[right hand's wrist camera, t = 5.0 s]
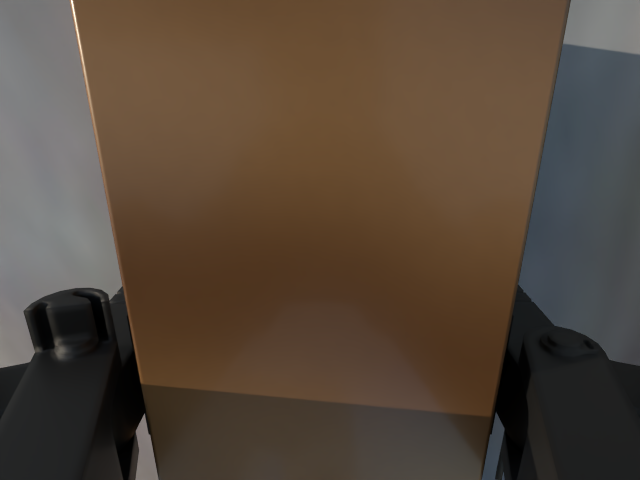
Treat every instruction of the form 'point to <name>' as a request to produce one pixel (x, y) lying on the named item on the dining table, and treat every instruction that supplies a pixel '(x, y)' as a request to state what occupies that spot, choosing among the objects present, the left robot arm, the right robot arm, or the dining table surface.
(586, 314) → the dining table surface
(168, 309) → the beam
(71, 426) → the right robot arm
